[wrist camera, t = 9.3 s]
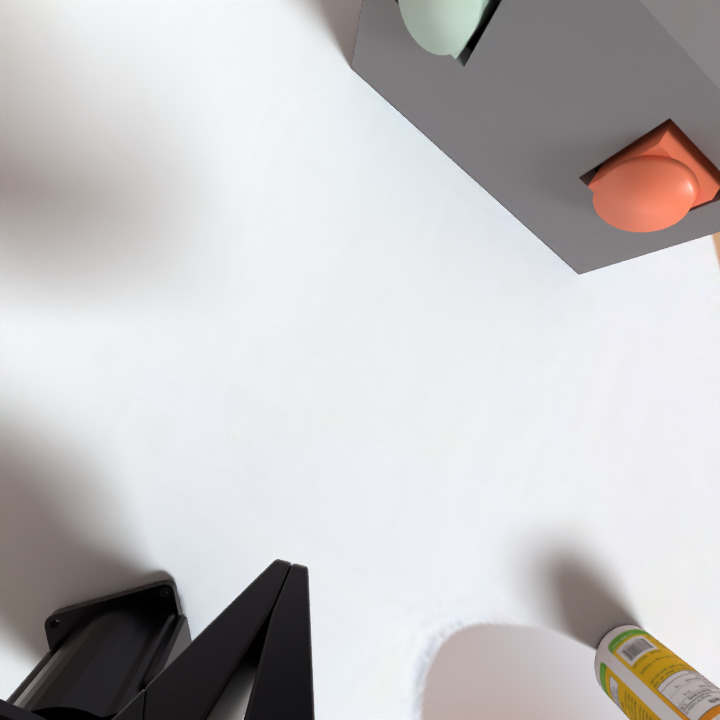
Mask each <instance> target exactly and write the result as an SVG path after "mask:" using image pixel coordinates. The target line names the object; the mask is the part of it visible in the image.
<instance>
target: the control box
mask: <svg viewBox="0 0 720 720" xmlns="http://www.w3.org/2000/svg"><path fill="white" fill-rule="evenodd" d="M351 68H352V69H353V70H354V71H355V72H356V73H357V74H358V75H359V76H361V77H362V78H363V79H364V80H365V81H366V82H367V83H368V84H369V85H370V86H372V87H373V88H374V89H375V90H376V91H377V92H378V93H379V94H380V95H382V96H383V97H384V98H385V99H386V100H387V101H388V102H389V103H390V104H391V105H393V106H394V107H395V108H396V109H397V110H398V111H399V112H400V113H401V114H403V115H404V116H405V117H406V118H407V119H408V120H409V121H410V122H411V123H412V124H414V125H415V126H416V127H417V128H418V129H419V130H420V131H421V132H422V133H423V134H425V135H426V136H427V137H428V138H429V139H430V140H431V141H432V142H433V143H435V144H436V145H437V146H438V147H439V148H440V149H441V150H442V151H443V152H444V153H446V154H447V155H448V156H449V157H450V158H451V159H452V160H453V161H454V162H456V163H457V164H458V165H459V166H460V167H461V168H462V169H463V170H464V171H465V172H467V173H468V174H469V175H470V176H471V177H472V178H473V179H474V180H475V181H476V182H478V183H479V184H480V185H481V186H482V187H483V188H484V189H485V190H486V191H488V192H489V193H490V194H491V195H492V196H493V197H494V198H495V199H496V200H497V201H499V202H500V203H501V204H502V205H503V206H504V207H505V208H506V209H507V210H509V211H510V212H511V213H512V214H513V215H514V216H515V217H516V218H517V219H518V220H520V221H521V222H522V223H523V224H524V225H525V226H526V227H527V228H528V229H529V230H531V231H532V232H533V233H534V234H535V235H536V236H537V237H538V238H539V239H541V240H542V241H543V242H544V243H545V244H546V245H547V246H548V247H549V248H550V249H552V250H553V251H554V252H555V253H556V254H557V255H558V256H559V257H560V258H562V259H563V260H564V261H565V262H566V263H567V264H568V265H569V266H570V267H571V268H573V269H574V270H575V271H576V272H577V273H578V274H583V273H586V272H589V271H593V270H596V269H599V268H602V267H606V266H609V265H612V264H615V263H619V262H622V261H625V260H629V259H632V258H635V257H638V256H642V255H645V254H648V253H652V252H655V251H658V250H661V249H665V248H668V247H671V246H674V245H678V244H681V243H684V242H688V241H691V240H694V239H697V238H701V237H704V236H707V235H711V234H714V233H717V232H720V188H719V190H718V192H717V193H716V195H715V196H714V198H713V199H712V200H710V201H707V202H704V203H702V204H699V205H697V206H694V207H692V208H690V210H689V211H688V213H687V214H686V215H685V216H684V217H683V218H682V219H681V220H680V221H678V222H677V223H675V224H674V225H672V226H670V227H667V228H665V229H661V230H658V231H653V232H630V231H625V230H621V229H618V228H616V227H613V226H611V225H610V224H608V223H606V222H605V221H604V220H603V219H601V217H600V216H599V215H598V214H597V212H596V211H595V208H594V205H593V194H594V192H593V191H592V190H591V189H590V188H589V187H588V185H589V183H590V182H591V181H592V179H593V178H594V176H595V175H596V173H597V172H598V170H599V169H600V167H601V166H602V165H603V163H604V162H605V160H606V159H608V158H609V157H611V156H613V155H614V154H616V153H617V152H619V151H620V150H622V149H623V148H625V147H626V146H628V145H629V144H631V143H632V142H634V141H635V140H637V139H639V138H640V137H642V136H643V135H645V134H646V133H648V132H649V131H651V130H652V129H654V128H655V127H657V126H658V125H660V124H661V123H663V122H665V121H666V120H668V119H669V118H670V119H671V120H672V121H673V122H674V123H675V124H676V125H677V126H678V127H679V128H680V129H681V130H682V131H683V133H684V134H685V135H686V136H687V137H688V138H689V139H690V140H691V141H692V142H693V143H694V144H695V145H696V146H697V147H698V148H699V149H700V151H701V152H702V153H703V154H704V155H705V156H706V157H707V158H708V159H709V160H710V161H711V162H712V163H713V164H714V165H715V166H716V167H717V169H718V170H719V171H720V0H501V1H500V3H499V4H498V6H497V7H496V8H495V9H494V11H493V12H492V13H491V15H490V16H489V17H488V18H487V20H486V21H485V22H484V23H483V25H482V26H481V27H480V29H479V30H478V31H477V32H476V34H475V35H474V36H473V38H472V39H471V40H470V41H469V43H468V44H467V45H466V46H465V48H464V49H463V50H462V52H461V53H460V54H459V55H458V57H457V58H456V59H455V58H454V57H453V56H452V55H451V54H449V55H436V54H432V53H430V52H428V51H427V50H425V49H423V48H422V47H421V46H420V45H419V44H418V43H417V42H416V41H415V40H414V38H413V37H412V36H411V34H410V32H409V31H408V29H407V27H406V25H405V23H404V20H403V18H402V14H401V11H400V7H399V2H398V0H363V1H362V7H361V13H360V18H359V24H358V30H357V36H356V41H355V47H354V53H353V59H352V64H351Z"/></svg>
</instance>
